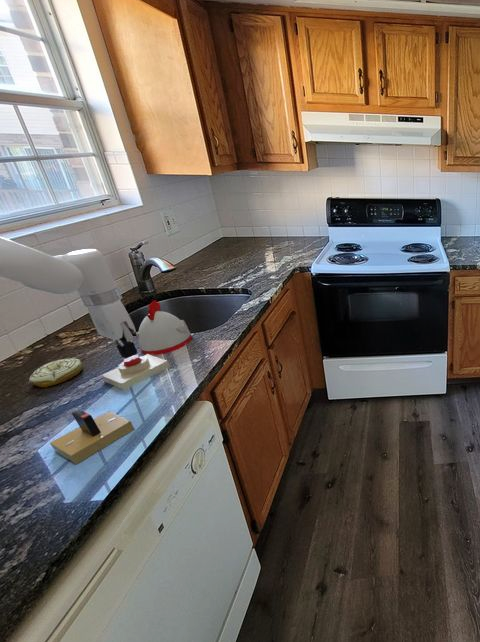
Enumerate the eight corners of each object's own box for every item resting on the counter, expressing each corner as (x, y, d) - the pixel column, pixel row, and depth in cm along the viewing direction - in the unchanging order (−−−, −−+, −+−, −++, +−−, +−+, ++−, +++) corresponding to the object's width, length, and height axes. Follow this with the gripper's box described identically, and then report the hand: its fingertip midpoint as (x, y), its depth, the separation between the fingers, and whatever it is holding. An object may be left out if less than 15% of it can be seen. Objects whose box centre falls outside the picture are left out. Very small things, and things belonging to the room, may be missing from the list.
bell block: (124, 390, 99) (118, 378, 98) (104, 381, 103) (98, 370, 101) (170, 366, 109) (165, 355, 107) (150, 359, 113) (145, 348, 111)
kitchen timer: (197, 331, 129) (183, 292, 123) (184, 350, 117) (168, 308, 111) (151, 337, 125) (134, 298, 119) (133, 358, 114) (113, 316, 107)
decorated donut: (22, 389, 101) (15, 378, 99) (59, 367, 110) (53, 356, 109) (60, 388, 101) (53, 377, 99) (93, 366, 110) (88, 355, 109)
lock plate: (76, 464, 77) (70, 455, 75) (54, 451, 80) (48, 442, 79) (135, 429, 86) (130, 420, 84) (113, 418, 89) (108, 410, 88)
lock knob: (81, 430, 82) (70, 412, 80) (89, 426, 83) (78, 408, 81) (93, 436, 80) (82, 418, 78) (101, 432, 81) (90, 414, 79)
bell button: (129, 368, 102) (127, 363, 102) (122, 365, 104) (120, 360, 103) (143, 361, 105) (141, 356, 105) (136, 359, 107) (134, 354, 106)
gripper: (69, 298, 95) (100, 356, 103) (100, 306, 90) (130, 368, 98) (103, 287, 102) (130, 343, 109) (134, 295, 96) (160, 354, 104)
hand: (130, 355), depth 104 cm, fingers closed
